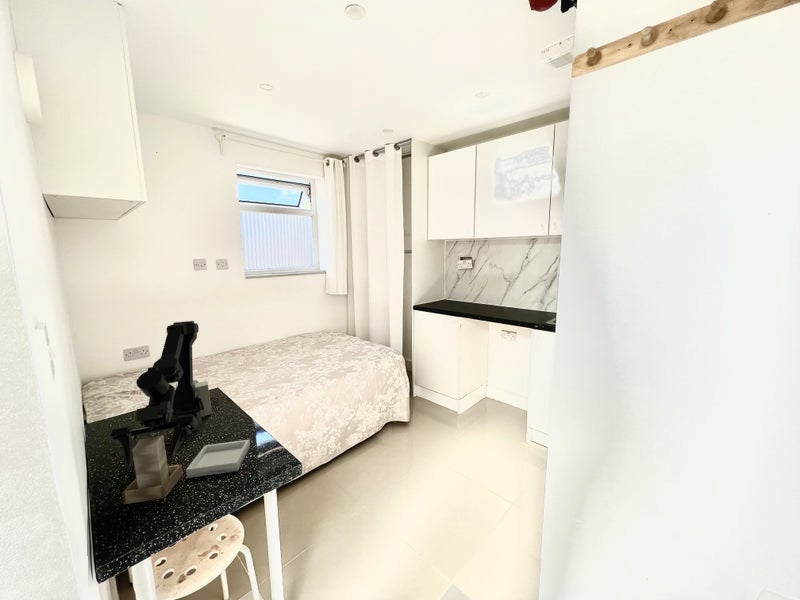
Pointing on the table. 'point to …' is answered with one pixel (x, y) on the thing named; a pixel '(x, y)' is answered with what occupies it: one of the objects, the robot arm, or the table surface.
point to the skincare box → (204, 397)
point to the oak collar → (152, 488)
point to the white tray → (218, 458)
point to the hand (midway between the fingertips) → (150, 461)
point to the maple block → (150, 462)
